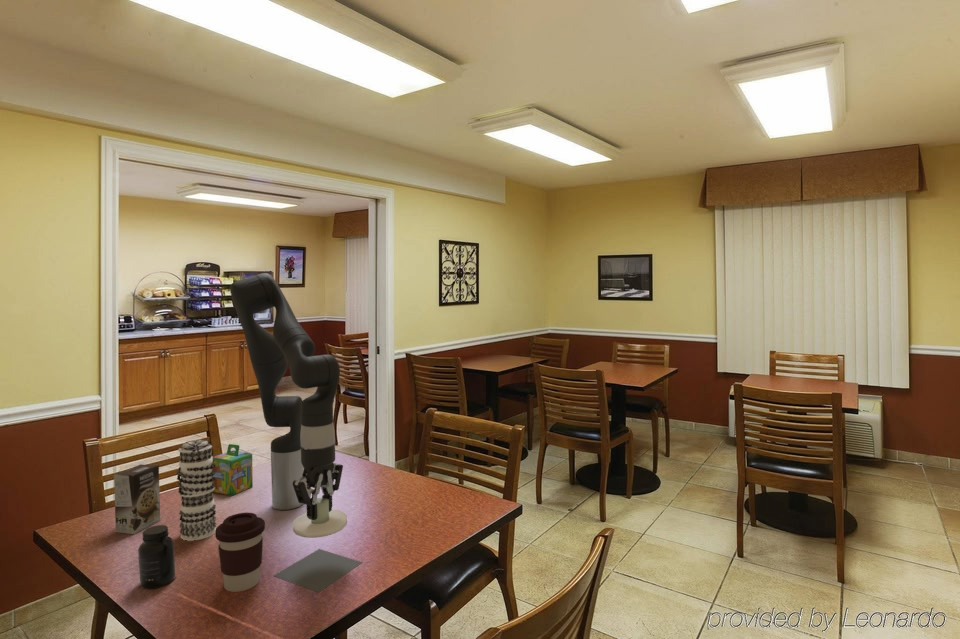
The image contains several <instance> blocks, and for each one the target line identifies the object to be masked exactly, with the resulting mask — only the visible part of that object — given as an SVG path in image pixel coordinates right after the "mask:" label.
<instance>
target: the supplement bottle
mask: <svg viewBox="0 0 960 639" xmlns="http://www.w3.org/2000/svg"><path fill="white" fill-rule="evenodd" d="M142 531H143V532H142V543H141V544H139V546H138V550H137V554H138V555H137V556H138V568H139V570H138V571H139V584H140V586H141V587H142V588H143V589H145V590H151V589H152V590H153V589H157V588H161V587H165V586H166V585H168V584H170V583H171V582H172V581H173V580H174V579H175V577H176V557H175V543H174V539H173V538H172V537H170V536H169V529H168V526H167V525H166V524H165V525H164V524H157V525H154V526H149V527H147V528H145V529H143V530H142Z"/></svg>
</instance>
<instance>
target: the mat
mask: <svg viewBox="0 0 960 639" xmlns="http://www.w3.org/2000/svg"><path fill="white" fill-rule="evenodd" d="M363 563H364V562H363V561H359V560H356V559H353V558H351V557H347V556H344V555H340V554H336V553H334V552H331V551H327V550H324V549H321V548H318V549H317V550H315V551H313V552H311V553H309V554H308V555H306V556H304V557H303V558H301V559H299V560H298V561H296V562H294V563H293V564H291V565H289V566H288V567H286V568H284V569H283V570H281V571H279V572H277V573H275V574H274V575H273V577H275V578H277V579H280V580H282V581H286V582H289V583H291V584H294V585H297V586H300V587H303V588H305V589H308V590H311V591H313V592H316V593H321V591H323V590H324V589H327V587H329V586H330V585H332V584H334V583H335V582H336V581H338V580H340V578H342V577H344V576H346V575H347V574H348V573H350V572H351V571H352V570H354V569H356V568H357V567H358V566H359V565H361V564H363Z"/></svg>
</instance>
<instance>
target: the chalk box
mask: <svg viewBox="0 0 960 639" xmlns="http://www.w3.org/2000/svg"><path fill="white" fill-rule="evenodd" d="M227 446H228V447H227V450H226V452H224V453H221V454H218V455H215V456H212V457H213V459H215V462H213V463H214V464H215V465H216V466H215V467H214V468H212V470H213V471H215V474H214V475H213V477H215V480H214V481H212V484H215V488H214V490H213V493H216V494H219V495H225V496H229V497H232V496H234V495H237V494H239V493H241V492H243V491H247V490H248V489H250V488H252V487H253V486H254V485H253V480H254V479H253V454H252V452H246V451H241V450H240V445H239V444H234V443H229V444H228V445H227ZM232 449H234V450H232Z"/></svg>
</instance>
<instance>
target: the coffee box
mask: <svg viewBox="0 0 960 639" xmlns="http://www.w3.org/2000/svg"><path fill="white" fill-rule="evenodd" d="M113 483H114V485H113V487H114V490H113V491H114V520H115V526H114V527H115V532H116V533H121V534H122V533H123V534H131V535H135V534H138V533H139V532H141V531H144V530H146V529H147V528H150V527H152V525H154V524H157V523H158V522H160V521H161V495H160V492H161V491H160V490H161V489H160V466H159V465H157V464H139V465H135V466H133V467H131V468H128V469H124V470H122V471H119V472H116V473H114V474H113Z"/></svg>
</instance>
